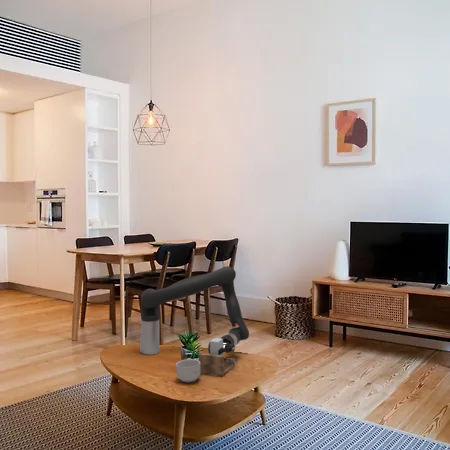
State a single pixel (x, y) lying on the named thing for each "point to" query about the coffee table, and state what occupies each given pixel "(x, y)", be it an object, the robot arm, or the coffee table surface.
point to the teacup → (188, 370)
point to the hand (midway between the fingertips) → (214, 352)
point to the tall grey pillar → (216, 346)
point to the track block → (215, 364)
